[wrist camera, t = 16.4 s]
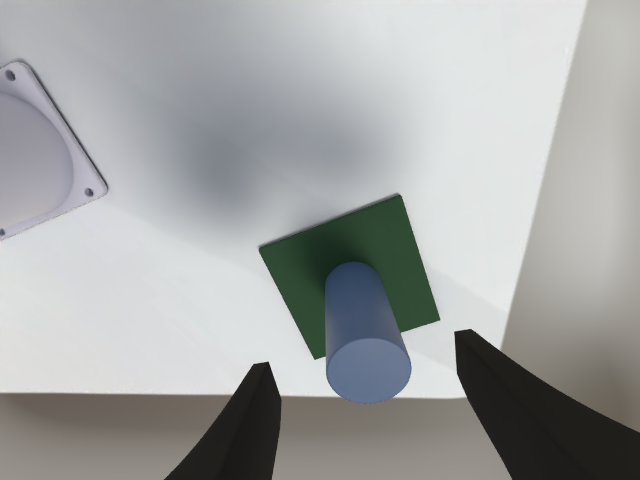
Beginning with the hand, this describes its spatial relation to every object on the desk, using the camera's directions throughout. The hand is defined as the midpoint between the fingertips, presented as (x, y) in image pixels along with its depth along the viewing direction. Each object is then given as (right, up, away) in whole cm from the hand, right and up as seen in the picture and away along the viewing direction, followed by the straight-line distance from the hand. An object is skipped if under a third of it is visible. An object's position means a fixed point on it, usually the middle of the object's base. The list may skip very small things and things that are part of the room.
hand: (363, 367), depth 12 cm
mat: (+1, +2, +10) cm, 11 cm away
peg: (+1, +2, +10) cm, 10 cm away
